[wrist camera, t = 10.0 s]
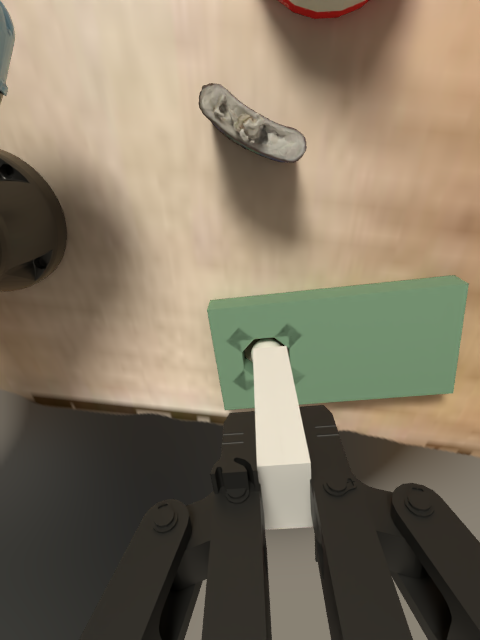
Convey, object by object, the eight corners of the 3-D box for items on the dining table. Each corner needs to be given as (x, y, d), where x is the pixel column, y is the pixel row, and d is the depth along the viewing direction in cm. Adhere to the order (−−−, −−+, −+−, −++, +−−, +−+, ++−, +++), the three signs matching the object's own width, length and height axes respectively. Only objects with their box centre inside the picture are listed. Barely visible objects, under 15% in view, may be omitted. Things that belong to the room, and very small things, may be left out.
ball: (254, 360, 46) (250, 378, 43) (251, 333, 45) (246, 349, 41) (285, 359, 46) (284, 377, 42) (283, 332, 44) (281, 348, 40)
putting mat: (226, 395, 48) (224, 410, 46) (210, 300, 43) (207, 310, 40) (441, 379, 46) (453, 393, 43) (454, 275, 40) (468, 283, 38)
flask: (300, 142, 35) (316, 137, 26) (285, 171, 37) (295, 176, 27) (216, 94, 34) (199, 69, 24) (204, 125, 35) (183, 113, 26)
